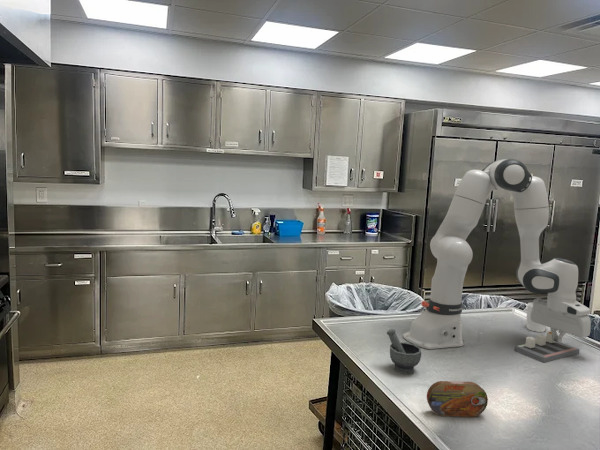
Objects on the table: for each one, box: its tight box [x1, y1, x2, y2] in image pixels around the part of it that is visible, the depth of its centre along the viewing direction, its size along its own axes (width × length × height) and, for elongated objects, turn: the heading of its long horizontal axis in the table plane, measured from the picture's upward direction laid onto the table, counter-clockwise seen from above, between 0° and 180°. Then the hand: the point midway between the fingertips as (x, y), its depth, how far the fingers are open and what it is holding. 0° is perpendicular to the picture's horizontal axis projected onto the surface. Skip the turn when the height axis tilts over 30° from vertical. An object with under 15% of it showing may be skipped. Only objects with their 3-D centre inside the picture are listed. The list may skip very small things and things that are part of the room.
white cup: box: [525, 302, 547, 333], centre depth 183 cm, size 8×8×10 cm
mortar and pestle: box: [386, 328, 422, 375], centre depth 140 cm, size 11×9×12 cm
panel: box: [514, 341, 580, 363], centre depth 160 cm, size 20×11×2 cm, turn 119°
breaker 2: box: [535, 334, 546, 346], centre depth 162 cm, size 2×2×3 cm
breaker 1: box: [524, 336, 537, 348], centre depth 159 cm, size 2×2×3 cm
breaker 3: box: [545, 331, 555, 343], centre depth 165 cm, size 2×2×4 cm
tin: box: [426, 380, 489, 418], centre depth 115 cm, size 15×3×8 cm, turn 90°
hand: (556, 341), depth 163 cm, fingers closed
